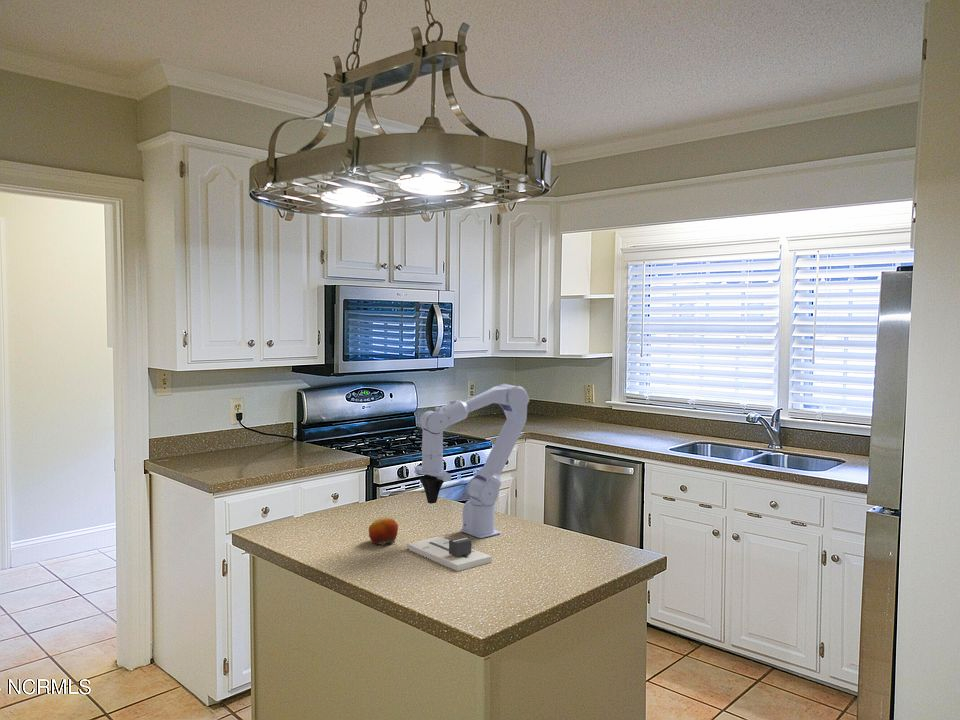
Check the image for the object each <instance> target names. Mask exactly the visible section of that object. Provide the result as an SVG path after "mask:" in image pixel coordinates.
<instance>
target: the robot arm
mask: <svg viewBox="0 0 960 720" xmlns="http://www.w3.org/2000/svg"><path fill="white" fill-rule="evenodd" d="M449 402H450V403H447V404H445V405H442V406H441V407H440V406H436V407H435V408H434V409H435V410H434V411H433V410H427V411H425V412H424V413H422V415H421V416H420V420H418V424H419V427H420V428H421V429H422V436H421V437H422V438H421V441H422V442H421V446H422V447H421V448H422V449H421V465H416V466H414V474H417V475H418V474H419V475H423V476H422V477H419V481H420V483H421V485H422V487H423V490H424V492H425V496H426V500H427V504H429V505H431V504H436V503H437V502H438V497H439V494H440V490H441V488H442V486H443V484H444V483H446V482H451V481H452V473H449V472H447V471H446V470H444V469H443V467H444V466H443V465H444V463H443V462H444V460H443V459H444V458H443V457H444V456H443V452H444V439H443V438H444V431H445V429H446V428H447V427H450V426H452V425H454V424H456V423H458V422H461V421H463V420H466V419H467V417H468V415H469V413H471V412H473V411H476V410H478V409H482V408H485V407H487V406H489V405H491V404H498V405H499V406H500V408H501V409H502V410H503V413H504V415H505V417H506V420H505V422H504V424H503V426H502V428H501V430H500V432H499V434H498V436H497V439H496V440H495V442H494V444H493V446H492V448H491V450H490V452H489V454H488V456H487V459H486V461H485V462H484V465H483V467H481V468H480V469H478V470H477V471H476V472H475V474H474V476H473V477H471V478H470V480H469V481H468V482H467V485H466V492H467V494H468V496H469V498H470V499H469V500H467V501H466V502H465V503H464V504H463V507H462V528H460V529H459V531H460V532H461V533H465V534H467V535H469V536H473V537H475V538H479V539H483V538H488V537H492V536H497V535H500V534H501V533H502V531H500V530H496V529H495V527H496V525H495V523H496V522H495V521H496V501H497V500H498V498H499V496H500V488H501V485H502V479H501V474H502V472H503V470H504V468H505V466H506V464H507V462H508V459H509V457H510V456H511V453H512V451H513V450H514V447H515V446H516V443H517V441H518V440H519V437H520V434H521V433H522V431H523V428H524V427H525V424H526V422H527V420H528V417H527V416H528V404H529V403H530V397H529V395H528V393H527V390H526V389H525V388H524V387H523V386H521V385H511V384H509V383H502V384H500V385H495V386H492V387H491V388H489V389H487V390H485V391H483V392H481V393H479V394H477V395H475V396H472V397H471V398H468V399H467V400H465V401H462V400H460V399H457V400H456V399H452V400H450V401H449Z"/></svg>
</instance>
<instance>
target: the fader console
mask: <svg viewBox="0 0 960 720" xmlns="http://www.w3.org/2000/svg"><path fill="white" fill-rule="evenodd" d="M449 540H450V539H447V538H445V537H442V536H436V537H431V538H426V539H422V540H418V541H414V542H413V541H412V542H409V543H406V550H407V549H409V550H408V551H410V550H411V551H410V552H412V551H413V552H412V553H414V552H415V553H414V554H416V553H418V554H417V555H419V554H420V555H419V556H421V555H422V557H423V556H424V558H426V557H427V558H426V559H428V558H429V559H428V560H430V559H431V561H433V562H435V563H437V562H438V563H437V564H440V565H442V566H445V567H446V568H450V569H452V570H454V571H456V572H460V571H464V570H467V569H471V568H474V567H478V566H482V565H486V564H491V563H492V561H493V560H492V559H493V557H492V555H489V554H486V553H484V552H482V551H479V550H477V549H473V548H471V554H468V555H464V556H460V557H456V556H454V555H451V554H449Z"/></svg>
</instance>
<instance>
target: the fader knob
mask: <svg viewBox="0 0 960 720" xmlns="http://www.w3.org/2000/svg"><path fill="white" fill-rule="evenodd" d="M448 540H449V554H451V555H454V556H456V557H460V556H464V555H468V554H471V549H472V539H469V538H468V537H464V536H461V537H456V538H452V539H448Z"/></svg>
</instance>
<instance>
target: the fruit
mask: <svg viewBox="0 0 960 720" xmlns="http://www.w3.org/2000/svg"><path fill="white" fill-rule="evenodd" d="M398 531H399V524H398V522H397V520H395V519H394V518H391V517H380V518H378V519H376V520H374V521H372V523H371V524H370V525H369V527H368V537H369V538H370V541H371V542H372V543H374V544H376V545H381V546H383V545H384V546H385V544H389V543H392V544H393V543H394V544H395V543H396V541H395V540H396V539H397V536H398Z"/></svg>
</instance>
